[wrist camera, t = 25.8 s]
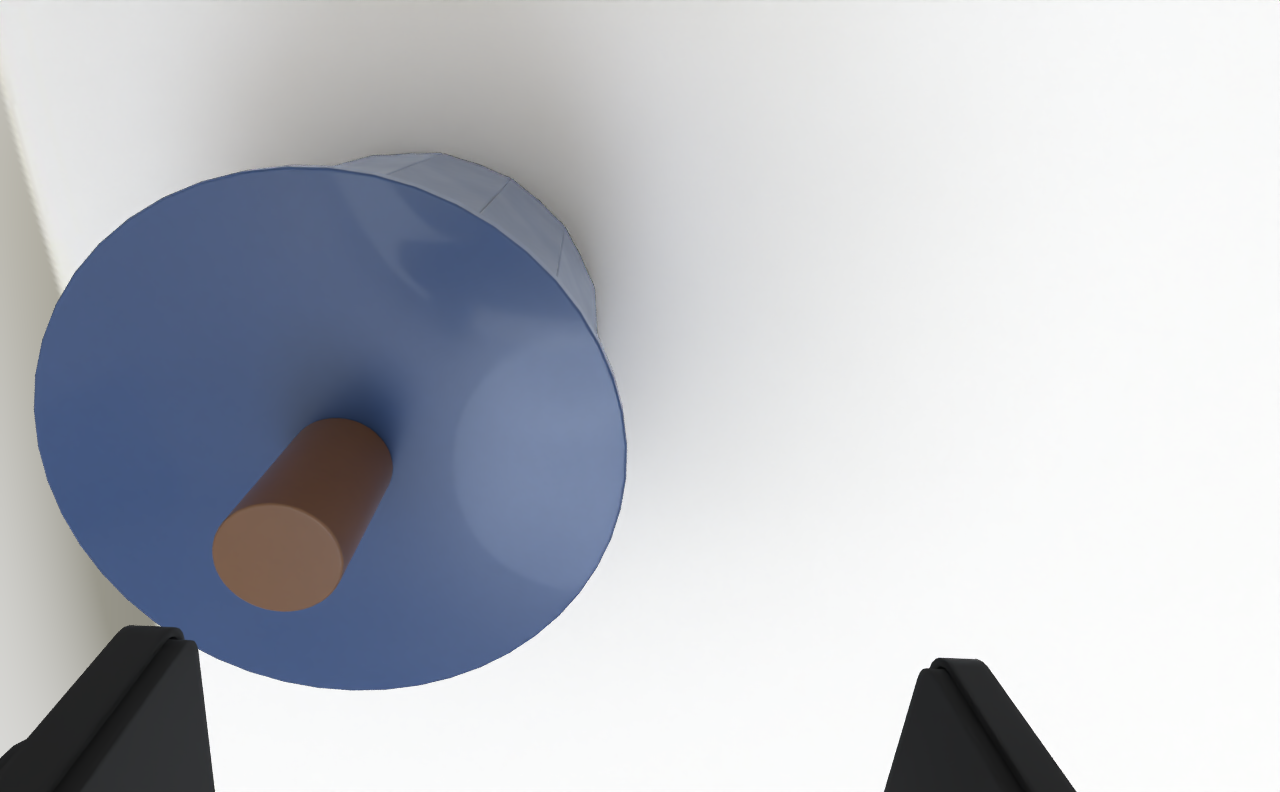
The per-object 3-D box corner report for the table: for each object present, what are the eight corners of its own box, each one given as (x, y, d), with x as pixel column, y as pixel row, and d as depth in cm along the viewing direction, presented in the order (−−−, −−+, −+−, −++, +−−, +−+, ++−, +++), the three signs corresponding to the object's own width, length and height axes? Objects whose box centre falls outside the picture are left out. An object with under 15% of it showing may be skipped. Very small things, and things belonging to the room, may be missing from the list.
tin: (192, 245, 30) (-51, 335, 19) (500, 91, 29) (444, 86, 18) (376, 516, 35) (274, 722, 24) (648, 394, 34) (681, 548, 22)
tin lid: (-68, 320, 19) (-316, 404, 14) (460, 53, 18) (408, 33, 13) (277, 730, 24) (191, 905, 19) (706, 547, 23) (742, 681, 18)
